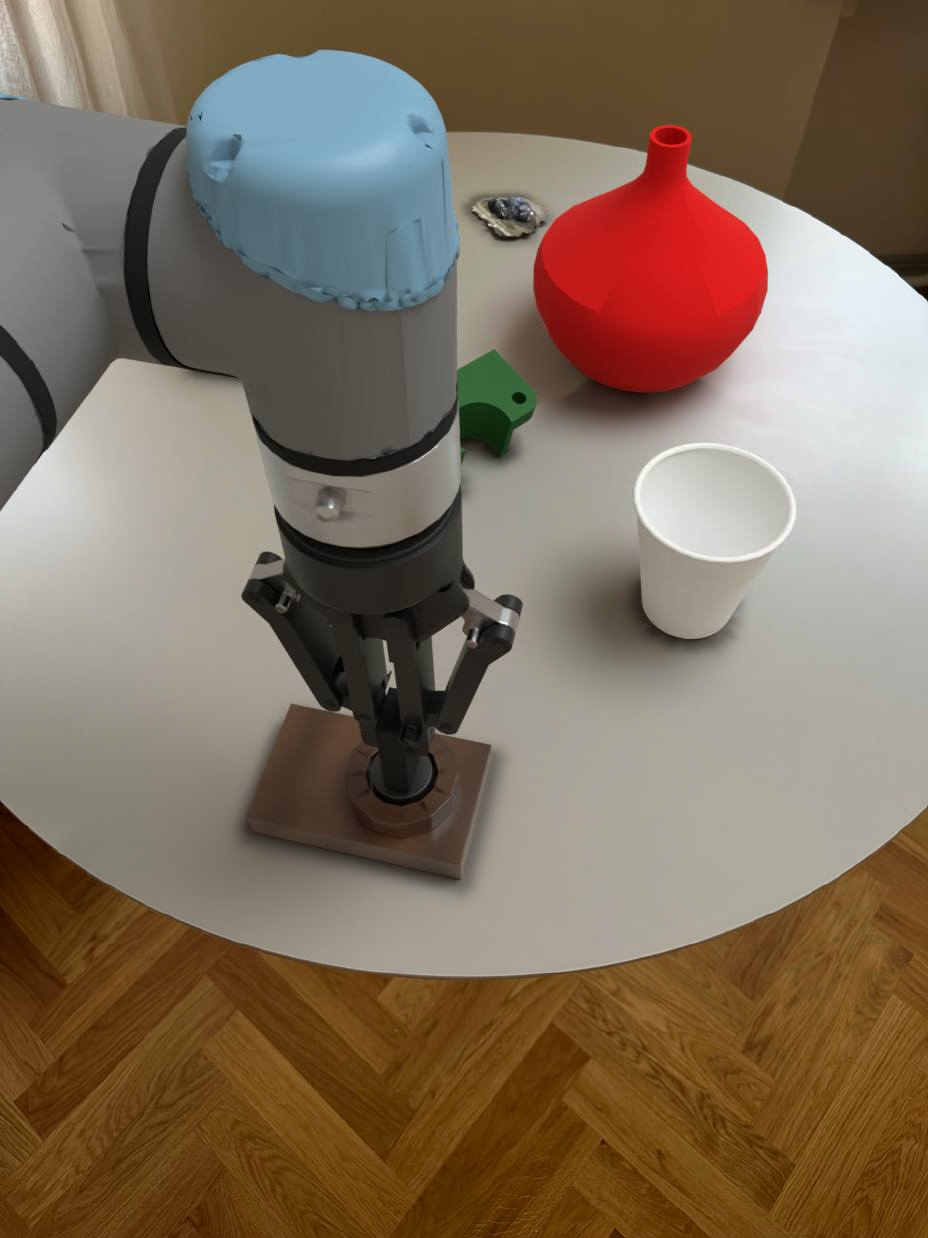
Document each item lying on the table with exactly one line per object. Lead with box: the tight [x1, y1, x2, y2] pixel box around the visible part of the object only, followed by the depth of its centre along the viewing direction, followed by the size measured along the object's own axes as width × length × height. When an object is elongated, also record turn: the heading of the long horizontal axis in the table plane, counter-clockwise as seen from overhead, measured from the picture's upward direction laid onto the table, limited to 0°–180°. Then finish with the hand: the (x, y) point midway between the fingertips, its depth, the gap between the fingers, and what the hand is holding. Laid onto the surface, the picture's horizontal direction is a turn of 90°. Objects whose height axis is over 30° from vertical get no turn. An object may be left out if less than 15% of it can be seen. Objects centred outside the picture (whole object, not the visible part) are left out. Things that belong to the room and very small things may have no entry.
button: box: [371, 754, 433, 806], centre depth 61 cm, size 4×4×2 cm
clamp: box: [457, 348, 538, 467], centre depth 79 cm, size 12×6×9 cm, turn 124°
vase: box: [532, 124, 769, 394], centre depth 81 cm, size 18×18×19 cm
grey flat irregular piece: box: [472, 196, 551, 238], centre depth 99 cm, size 7×8×2 cm
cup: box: [632, 442, 798, 640], centre depth 68 cm, size 10×10×11 cm
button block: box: [246, 703, 492, 880], centre depth 62 cm, size 13×8×4 cm, turn 76°
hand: (403, 768), depth 60 cm, fingers closed
